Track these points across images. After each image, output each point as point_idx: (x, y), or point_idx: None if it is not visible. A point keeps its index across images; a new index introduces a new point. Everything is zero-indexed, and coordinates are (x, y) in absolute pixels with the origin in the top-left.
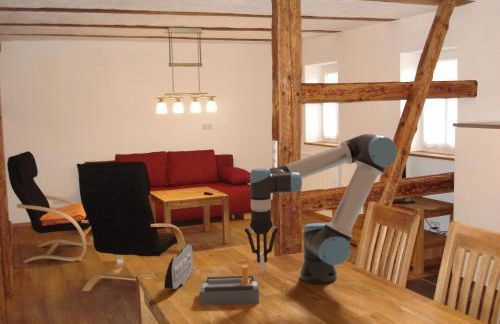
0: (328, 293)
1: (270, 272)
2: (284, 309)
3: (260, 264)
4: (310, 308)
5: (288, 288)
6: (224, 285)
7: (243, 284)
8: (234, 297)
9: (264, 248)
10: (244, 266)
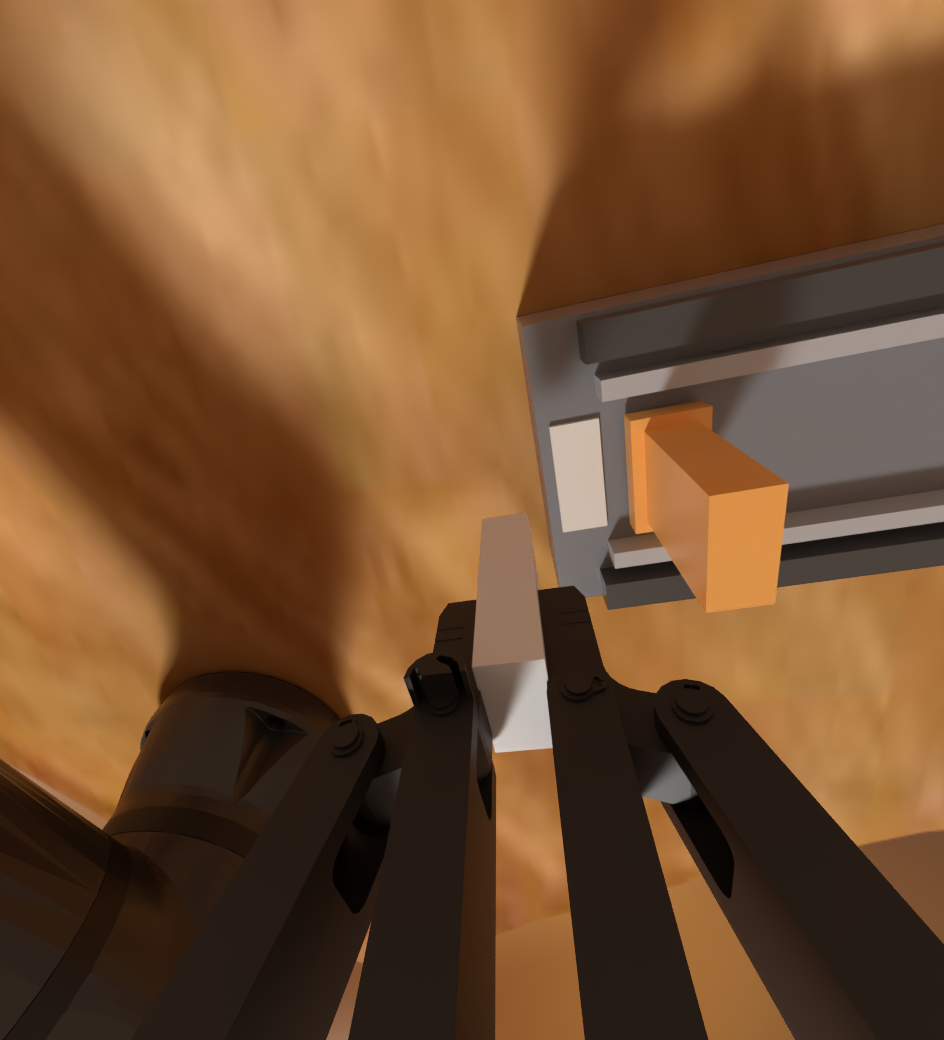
0: (109, 543)
1: (522, 788)
2: (280, 189)
3: (529, 559)
4: (93, 245)
5: (372, 599)
6: (904, 334)
7: (686, 408)
8: (741, 272)
9: (450, 789)
10: (748, 537)
